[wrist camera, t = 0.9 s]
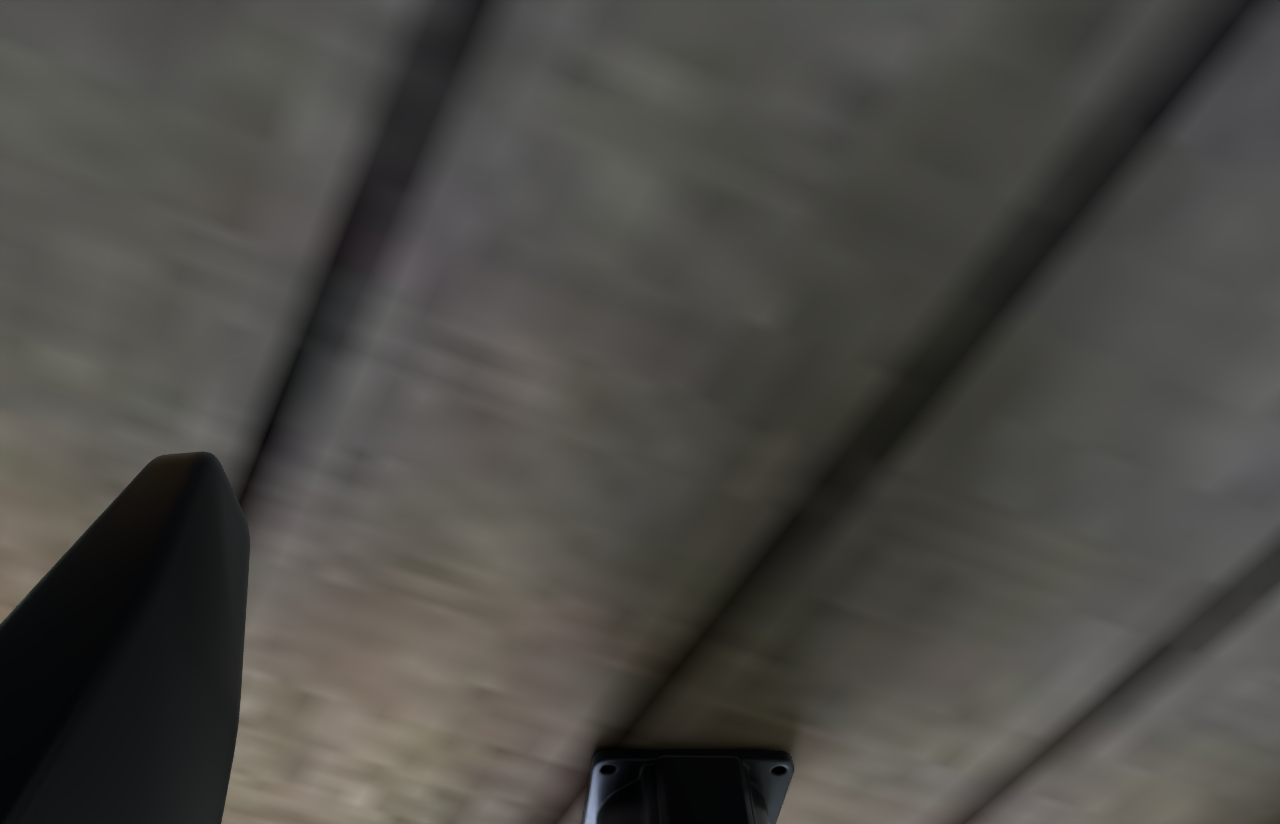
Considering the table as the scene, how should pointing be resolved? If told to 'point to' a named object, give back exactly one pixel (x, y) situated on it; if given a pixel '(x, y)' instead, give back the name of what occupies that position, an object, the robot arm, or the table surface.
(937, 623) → the table surface
